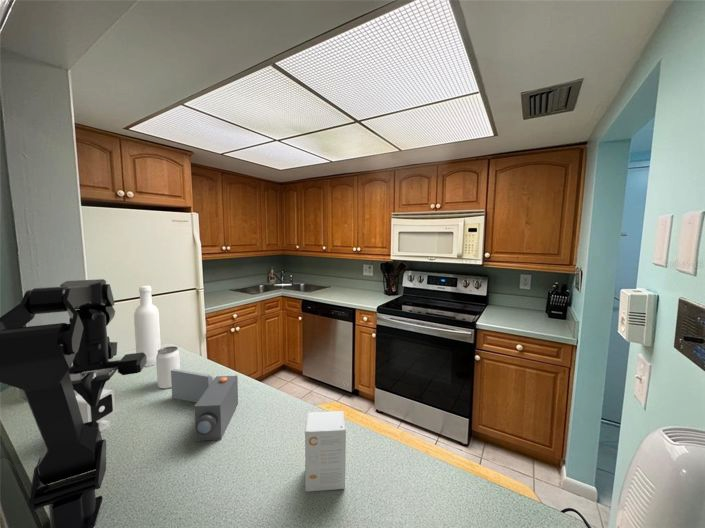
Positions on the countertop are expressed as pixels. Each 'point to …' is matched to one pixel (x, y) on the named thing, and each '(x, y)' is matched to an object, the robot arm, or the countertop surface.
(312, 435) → the small box
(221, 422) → the camera body
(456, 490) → the countertop surface
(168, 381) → the can
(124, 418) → the countertop surface
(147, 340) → the bottle
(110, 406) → the security camera
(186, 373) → the side door
